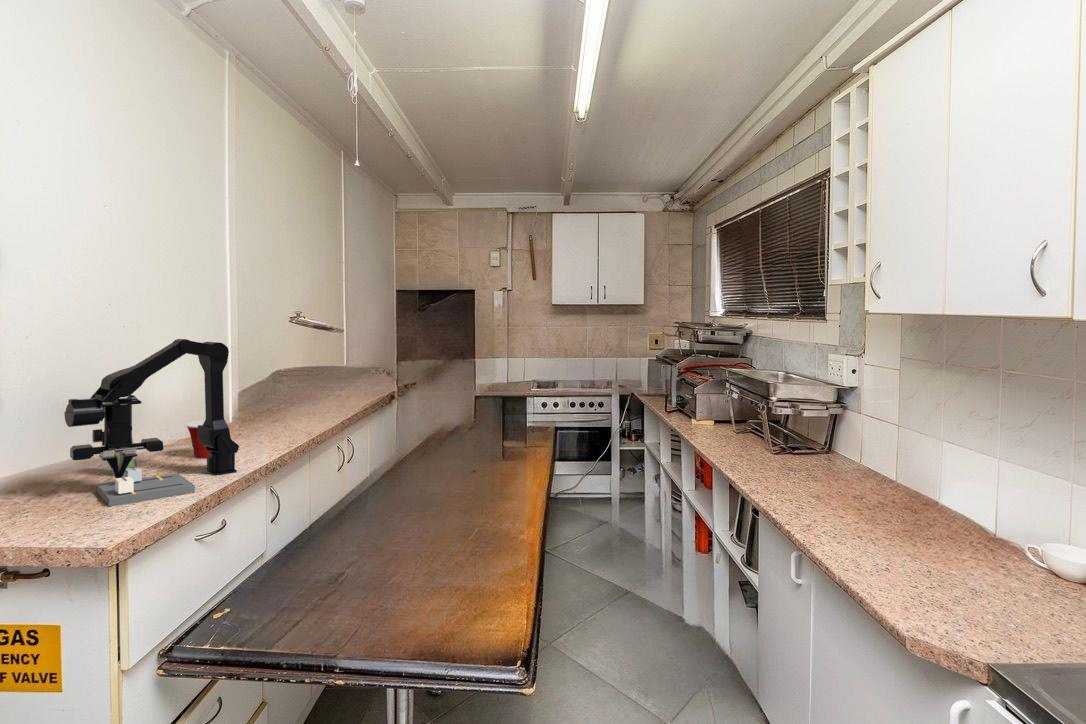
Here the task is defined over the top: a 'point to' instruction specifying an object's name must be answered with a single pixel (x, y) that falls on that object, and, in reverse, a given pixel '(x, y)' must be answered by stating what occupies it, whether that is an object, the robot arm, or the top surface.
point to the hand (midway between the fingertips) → (118, 480)
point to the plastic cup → (198, 448)
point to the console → (147, 489)
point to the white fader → (134, 473)
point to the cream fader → (124, 485)
